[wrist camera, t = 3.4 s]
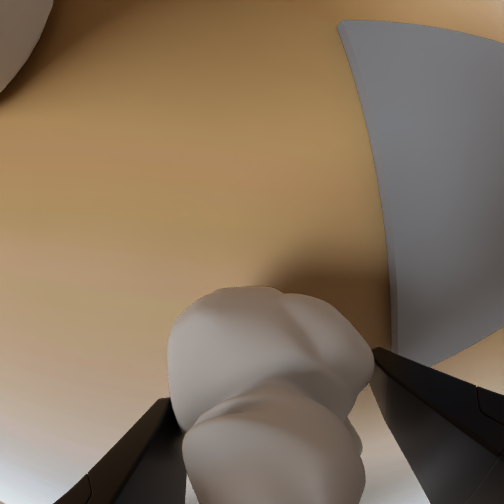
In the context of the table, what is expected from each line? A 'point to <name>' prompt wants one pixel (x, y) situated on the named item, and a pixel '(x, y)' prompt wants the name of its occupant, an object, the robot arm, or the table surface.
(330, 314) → the off-white lumpy chunk
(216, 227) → the table surface
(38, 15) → the can
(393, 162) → the grey mat
